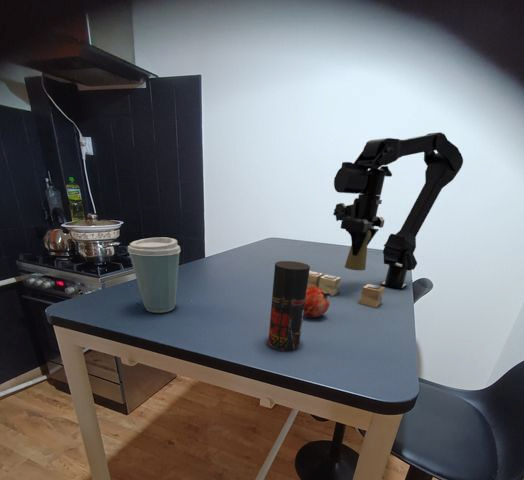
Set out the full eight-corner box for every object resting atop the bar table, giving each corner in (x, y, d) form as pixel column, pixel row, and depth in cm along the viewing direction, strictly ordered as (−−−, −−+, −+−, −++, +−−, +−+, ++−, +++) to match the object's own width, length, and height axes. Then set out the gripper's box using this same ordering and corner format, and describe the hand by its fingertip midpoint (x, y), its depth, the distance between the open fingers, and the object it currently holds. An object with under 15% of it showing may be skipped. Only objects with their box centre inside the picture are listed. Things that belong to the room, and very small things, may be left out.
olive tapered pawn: (366, 271, 90) (375, 230, 85) (344, 269, 91) (352, 228, 86) (364, 266, 96) (372, 228, 91) (344, 264, 97) (351, 226, 92)
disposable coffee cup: (151, 320, 66) (143, 246, 59) (125, 306, 72) (116, 237, 65) (192, 309, 73) (190, 242, 66) (166, 297, 79) (161, 234, 72)
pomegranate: (290, 325, 74) (322, 311, 67) (282, 296, 75) (312, 278, 67) (311, 322, 79) (343, 308, 72) (303, 294, 80) (333, 278, 72)
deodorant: (266, 336, 63) (273, 260, 56) (296, 337, 64) (305, 262, 57) (269, 350, 58) (277, 268, 51) (301, 351, 58) (313, 270, 51)
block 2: (324, 289, 95) (326, 273, 92) (338, 292, 92) (341, 277, 90) (317, 292, 91) (320, 276, 89) (331, 296, 89) (334, 279, 87)
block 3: (364, 299, 89) (368, 283, 86) (380, 303, 86) (385, 286, 84) (359, 303, 85) (363, 286, 83) (375, 307, 83) (380, 290, 81)
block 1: (307, 285, 97) (309, 270, 95) (321, 288, 95) (323, 273, 93) (300, 288, 94) (302, 272, 92) (314, 291, 92) (316, 275, 89)
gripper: (353, 193, 95) (343, 246, 103) (327, 191, 81) (318, 253, 89) (390, 196, 90) (377, 252, 97) (369, 195, 76) (356, 261, 83)
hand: (357, 254), depth 92 cm, fingers closed on olive tapered pawn, 4 cm apart
